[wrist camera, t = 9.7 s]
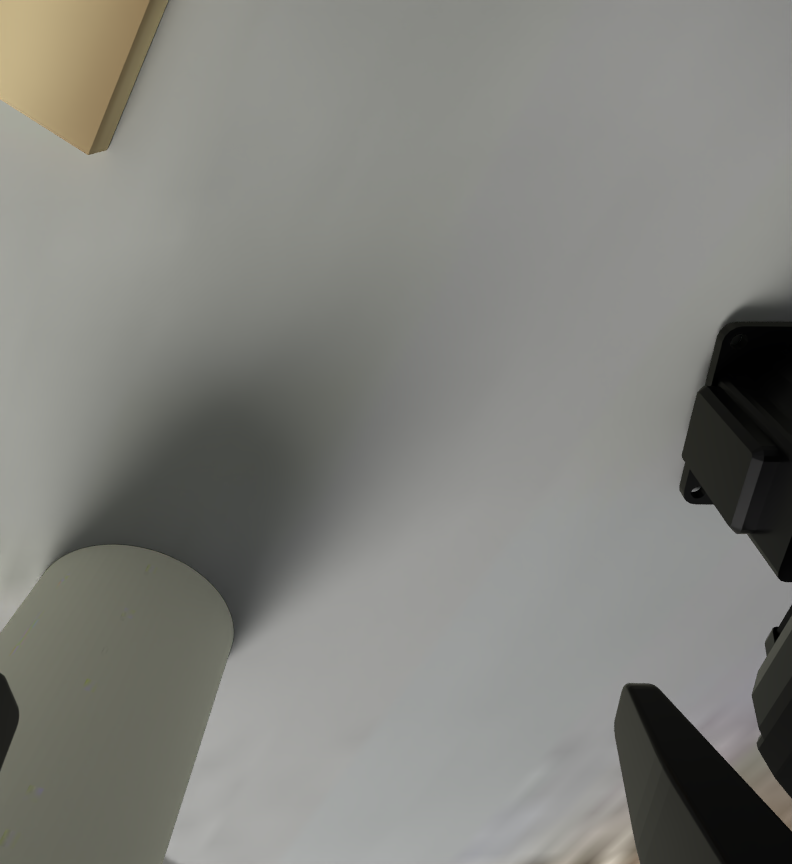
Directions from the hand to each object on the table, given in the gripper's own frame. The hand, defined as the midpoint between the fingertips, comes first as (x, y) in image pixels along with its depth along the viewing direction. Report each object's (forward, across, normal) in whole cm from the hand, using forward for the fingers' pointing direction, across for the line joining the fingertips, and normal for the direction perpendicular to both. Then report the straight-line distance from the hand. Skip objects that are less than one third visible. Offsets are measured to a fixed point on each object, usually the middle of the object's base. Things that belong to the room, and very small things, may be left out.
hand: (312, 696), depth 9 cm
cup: (+13, +10, +12) cm, 21 cm away
